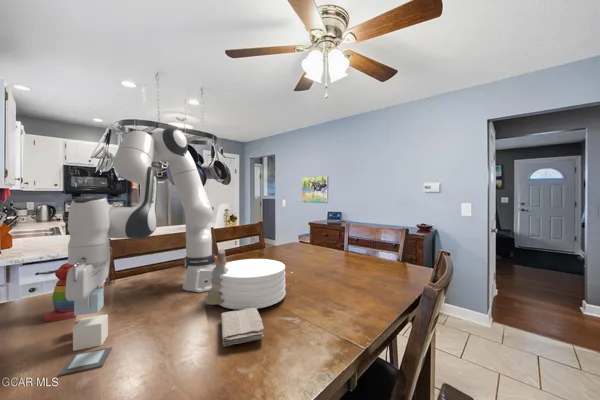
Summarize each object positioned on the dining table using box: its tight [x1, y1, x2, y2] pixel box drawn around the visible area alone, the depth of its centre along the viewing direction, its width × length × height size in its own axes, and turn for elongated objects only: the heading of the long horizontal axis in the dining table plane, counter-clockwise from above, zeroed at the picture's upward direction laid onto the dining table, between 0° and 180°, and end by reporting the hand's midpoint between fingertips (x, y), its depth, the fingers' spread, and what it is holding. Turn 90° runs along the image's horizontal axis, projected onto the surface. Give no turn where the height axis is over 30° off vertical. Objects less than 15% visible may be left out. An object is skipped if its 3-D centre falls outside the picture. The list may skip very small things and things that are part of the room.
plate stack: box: [218, 258, 286, 311], centre depth 104 cm, size 28×28×12 cm
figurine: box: [204, 248, 228, 305], centre depth 96 cm, size 9×8×20 cm
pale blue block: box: [74, 287, 105, 316], centre depth 70 cm, size 5×5×5 cm
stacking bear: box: [43, 262, 76, 322], centre depth 88 cm, size 11×10×18 cm
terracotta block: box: [74, 312, 99, 326], centre depth 75 cm, size 5×5×5 cm
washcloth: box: [220, 307, 265, 347], centre depth 78 cm, size 12×18×3 cm, turn 20°
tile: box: [57, 346, 113, 377], centre depth 62 cm, size 8×8×1 cm
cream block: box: [72, 313, 109, 351], centre depth 70 cm, size 6×6×6 cm
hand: (89, 304), depth 70 cm, fingers closed on pale blue block, 5 cm apart
